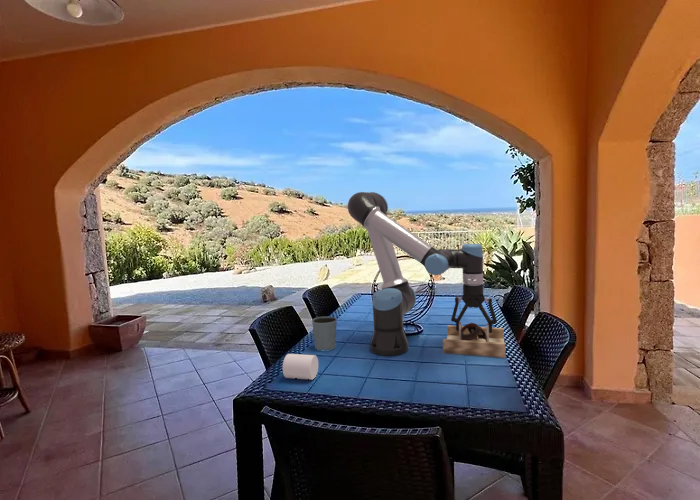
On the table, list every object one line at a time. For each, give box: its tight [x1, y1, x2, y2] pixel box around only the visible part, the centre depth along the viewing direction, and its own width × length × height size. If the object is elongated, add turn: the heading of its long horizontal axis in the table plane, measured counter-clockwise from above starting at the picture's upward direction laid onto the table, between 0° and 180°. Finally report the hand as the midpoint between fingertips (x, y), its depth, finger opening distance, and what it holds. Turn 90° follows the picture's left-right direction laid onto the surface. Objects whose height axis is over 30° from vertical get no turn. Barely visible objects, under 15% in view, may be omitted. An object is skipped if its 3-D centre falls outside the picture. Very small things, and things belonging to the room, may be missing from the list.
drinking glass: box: [311, 315, 338, 351], centre depth 156 cm, size 10×10×12 cm
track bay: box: [442, 324, 506, 359], centre depth 149 cm, size 22×19×5 cm
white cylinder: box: [282, 353, 319, 381], centre depth 131 cm, size 12×10×8 cm
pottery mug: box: [461, 322, 487, 342], centre depth 149 cm, size 12×10×8 cm
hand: (474, 339), depth 149 cm, fingers closed on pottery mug, 10 cm apart
